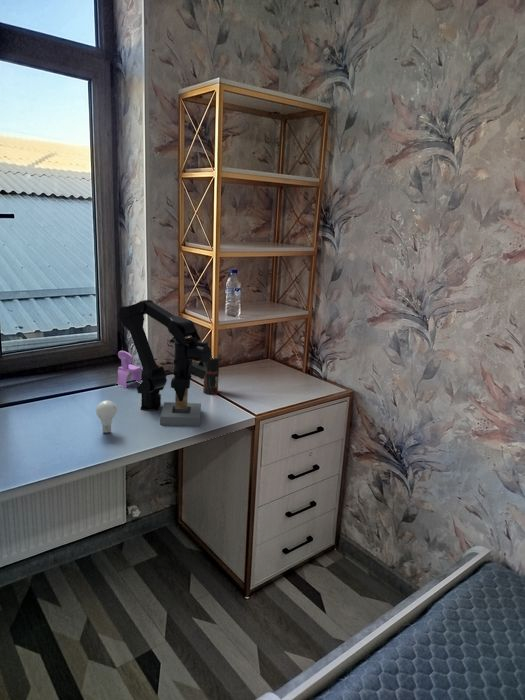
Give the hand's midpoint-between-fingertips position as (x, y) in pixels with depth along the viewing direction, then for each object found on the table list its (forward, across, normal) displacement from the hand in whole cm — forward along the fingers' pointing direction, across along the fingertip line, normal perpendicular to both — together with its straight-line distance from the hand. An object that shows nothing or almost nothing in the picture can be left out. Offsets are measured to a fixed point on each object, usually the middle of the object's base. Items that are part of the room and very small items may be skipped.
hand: (181, 398), depth 175 cm
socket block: (+7, 0, 0) cm, 7 cm away
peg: (+3, 0, 0) cm, 3 cm away
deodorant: (+7, +27, -10) cm, 30 cm away
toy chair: (+8, +33, +24) cm, 41 cm away
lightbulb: (+7, -14, +23) cm, 28 cm away
